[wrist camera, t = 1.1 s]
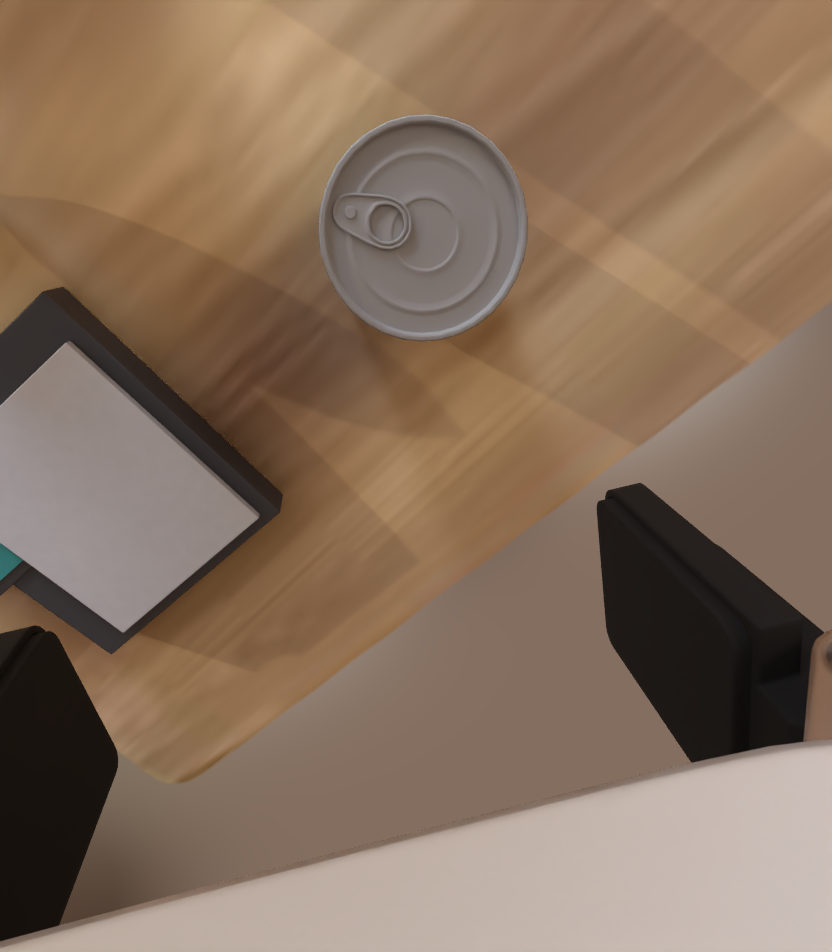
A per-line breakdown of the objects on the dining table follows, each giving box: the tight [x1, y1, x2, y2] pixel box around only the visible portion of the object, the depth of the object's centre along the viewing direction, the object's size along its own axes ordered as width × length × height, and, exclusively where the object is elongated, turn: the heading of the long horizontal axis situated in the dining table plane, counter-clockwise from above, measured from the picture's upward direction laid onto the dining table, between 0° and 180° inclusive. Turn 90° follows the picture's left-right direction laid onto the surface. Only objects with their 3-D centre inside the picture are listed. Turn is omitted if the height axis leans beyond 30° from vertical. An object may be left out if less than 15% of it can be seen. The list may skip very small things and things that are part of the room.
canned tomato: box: [319, 115, 528, 341], centre depth 28 cm, size 8×8×11 cm
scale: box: [0, 287, 283, 654], centre depth 35 cm, size 16×16×3 cm
